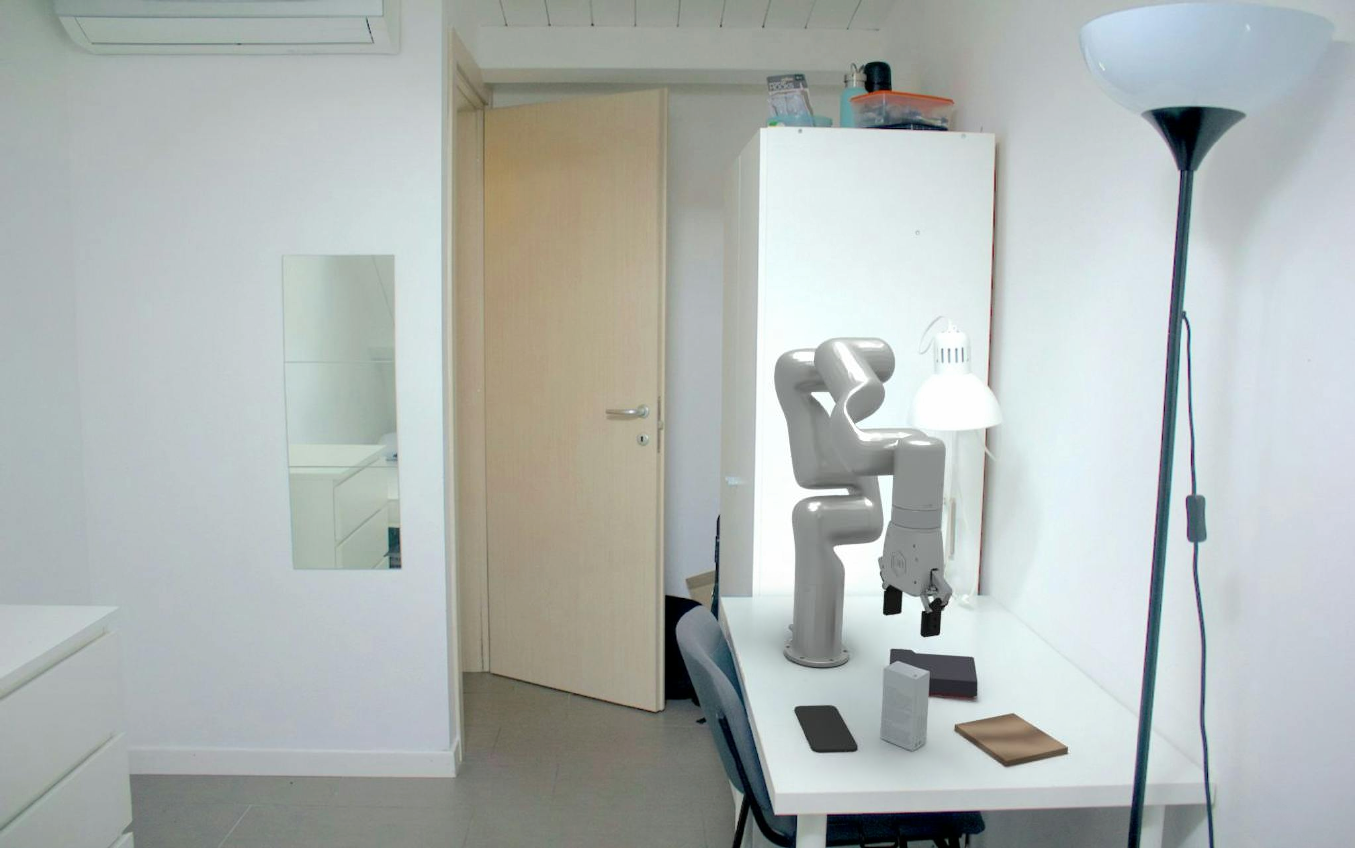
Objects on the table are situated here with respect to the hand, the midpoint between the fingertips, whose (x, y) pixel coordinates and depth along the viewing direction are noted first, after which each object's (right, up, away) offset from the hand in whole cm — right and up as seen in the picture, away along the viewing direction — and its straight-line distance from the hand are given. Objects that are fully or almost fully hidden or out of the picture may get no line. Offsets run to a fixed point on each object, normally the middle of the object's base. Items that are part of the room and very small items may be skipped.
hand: (910, 624), depth 140 cm
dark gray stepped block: (+10, -12, +23) cm, 28 cm away
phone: (-12, -19, +7) cm, 24 cm away
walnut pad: (+17, -19, +4) cm, 26 cm away
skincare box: (0, -19, +3) cm, 20 cm away
